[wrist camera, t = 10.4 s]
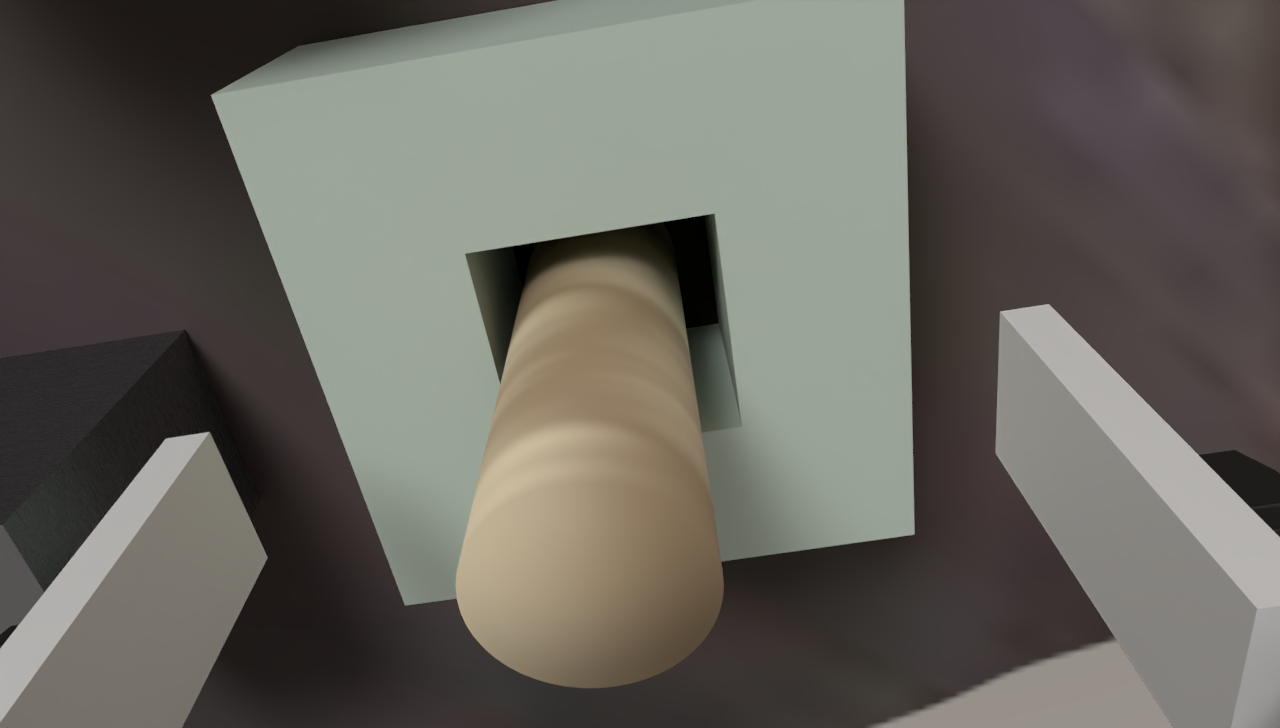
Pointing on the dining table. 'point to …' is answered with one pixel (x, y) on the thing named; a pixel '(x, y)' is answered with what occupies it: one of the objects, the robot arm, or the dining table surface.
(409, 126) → the socket block
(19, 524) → the dark grey block
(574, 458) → the birch dowel
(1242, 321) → the dining table surface
